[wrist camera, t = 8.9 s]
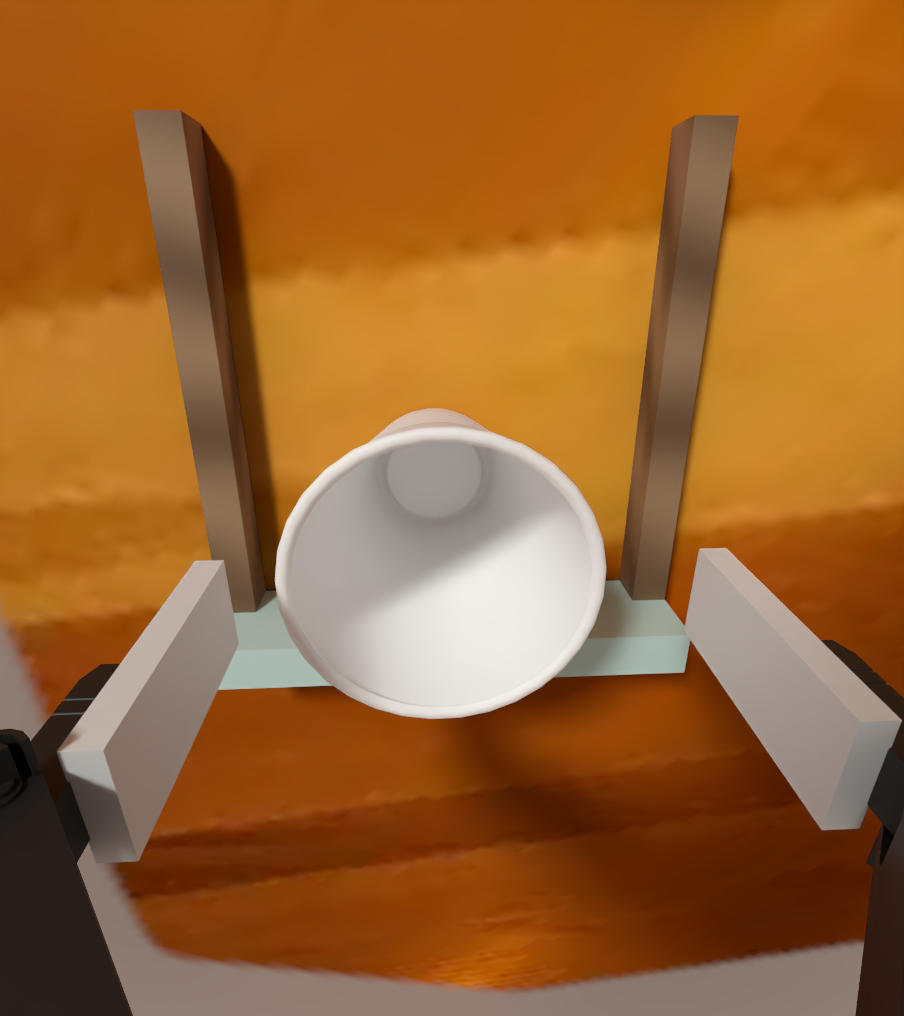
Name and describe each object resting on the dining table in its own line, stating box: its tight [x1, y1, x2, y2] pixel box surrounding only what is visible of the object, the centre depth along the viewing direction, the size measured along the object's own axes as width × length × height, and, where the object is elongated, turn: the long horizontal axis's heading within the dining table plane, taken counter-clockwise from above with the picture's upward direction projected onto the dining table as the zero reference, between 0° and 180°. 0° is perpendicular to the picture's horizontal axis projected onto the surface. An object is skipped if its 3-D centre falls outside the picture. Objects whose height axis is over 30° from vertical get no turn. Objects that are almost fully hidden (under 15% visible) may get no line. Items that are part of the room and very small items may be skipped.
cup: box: [275, 408, 607, 719], centre depth 23 cm, size 10×10×11 cm
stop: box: [218, 580, 690, 690], centre depth 28 cm, size 2×21×5 cm, turn 90°
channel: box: [133, 110, 739, 613], centre depth 26 cm, size 22×21×2 cm
